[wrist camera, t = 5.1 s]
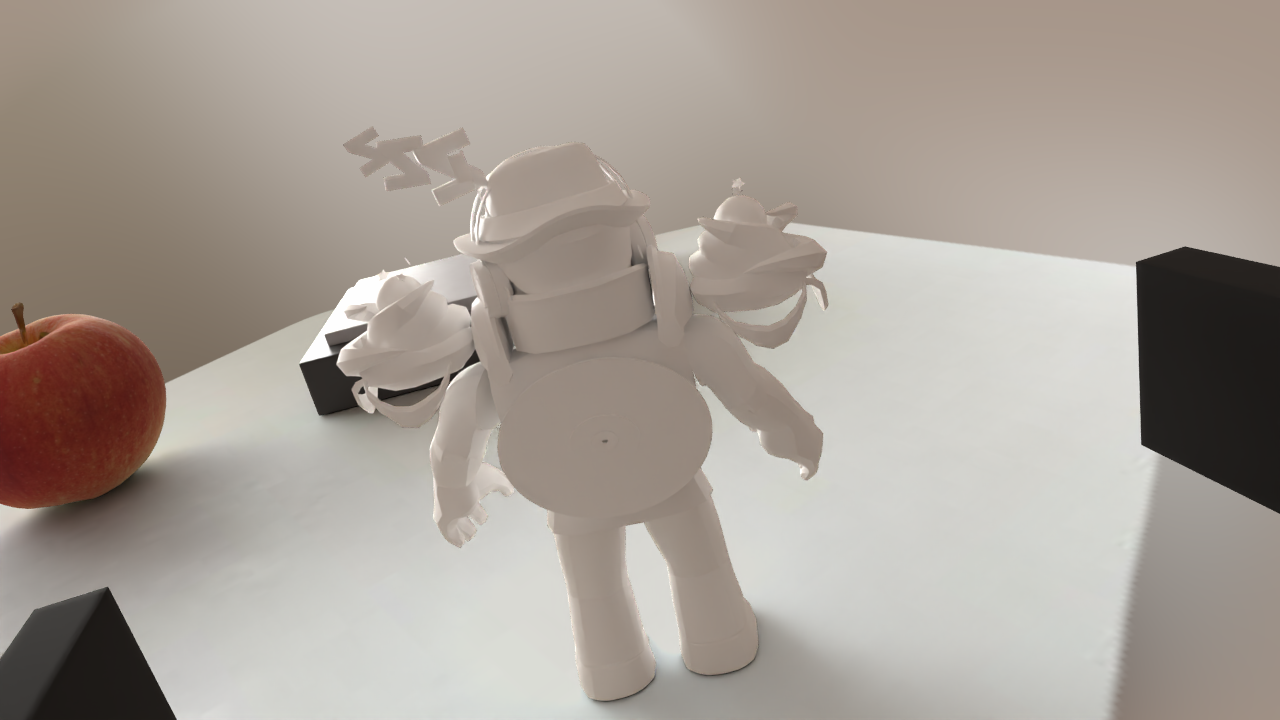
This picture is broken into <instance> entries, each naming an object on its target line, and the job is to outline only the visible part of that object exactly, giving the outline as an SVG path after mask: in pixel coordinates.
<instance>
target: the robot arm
mask: <svg viewBox="0 0 1280 720" xmlns="http://www.w3.org/2000/svg"><path fill="white" fill-rule="evenodd" d="M1136 275H1137V310H1138V345H1139V379H1140V414H1141V445H1143V446H1145V447H1147V448H1149V449H1151V450H1153V451H1155V452H1157V453H1159V454H1161V455H1163V456H1165V457H1167V458H1169V459H1171V460H1173V461H1175V462H1177V463H1179V464H1181V465H1183V466H1185V467H1187V468H1189V469H1191V470H1193V471H1195V472H1197V473H1199V474H1201V475H1204V476H1205V477H1207V478H1209V479H1211V480H1213V481H1215V482H1217V483H1219V484H1221V485H1223V486H1226V487H1227V488H1229V489H1231V490H1233V491H1235V492H1237V493H1239V494H1241V495H1243V496H1246V497H1247V498H1249V499H1251V500H1253V501H1255V502H1257V503H1259V504H1261V505H1263V506H1266V507H1267V508H1269V509H1271V510H1273V511H1276V512H1277V513H1279V514H1280V267H1277V266H1272V265H1268V264H1263V263H1258V262H1254V261H1249V260H1245V259H1240V258H1235V257H1231V256H1226V255H1222V254H1217V253H1213V252H1208V251H1203V250H1199V249H1194V248H1189V247H1182V248H1179V249H1176V250H1173V251H1170V252H1166V253H1163V254H1160V255H1157V256H1154V257H1151V258H1147V259H1144V260H1141V261H1138V262H1136ZM0 720H177V719H176V717H175V715H174V713H173V711H172V710H171V708H170V706H169V704H168V702H167V700H166V698H165V696H164V694H163V692H162V690H161V688H160V686H159V684H158V682H157V681H156V679H155V677H154V675H153V673H152V671H151V669H150V667H149V665H148V663H147V661H146V659H145V657H144V655H143V653H142V651H141V650H140V648H139V646H138V644H137V642H136V640H135V638H134V636H133V634H132V632H131V630H130V628H129V626H128V624H127V622H126V621H125V619H124V617H123V615H122V613H121V611H120V609H119V607H118V605H117V603H116V601H115V599H114V597H113V595H112V593H111V591H110V590H109V588H108V587H105V588H102V589H99V590H96V591H93V592H89V593H86V594H83V595H80V596H77V597H74V598H70V599H67V600H64V601H61V602H58V603H55V604H51V605H48V606H45V607H42V608H39V609H35V610H34V611H33V612H32V614H31V615H30V617H29V618H28V620H27V621H26V623H25V624H24V625H23V627H22V628H21V630H20V631H19V633H18V634H17V636H16V637H15V638H14V640H13V641H12V643H11V644H10V646H9V647H8V649H7V650H6V651H5V653H4V654H3V656H2V657H1V659H0Z"/></svg>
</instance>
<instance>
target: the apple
mask: <svg viewBox="0 0 1280 720" xmlns="http://www.w3.org/2000/svg"><path fill="white" fill-rule="evenodd" d="M23 309H24V308H23V304H22V303H16V304H15V305H14V306H13V307H12V309H11V310H12V312H13V314H14V316H15V319H16V322H17V325H18V328H19V329H17V330H14V331H12V332H9V333H7V334H5V335H2V336H0V504H3V505H7V506H11V507H16V508H25V509H33V508H41V507H50V506H58V505H62V504H67V503H71V502H76V501H81V500H88V499H93V498H96V497H99V496H101V495H103V494H105V493H107V492H109V491H110V490H112V489H113V488H115V487H117V486H118V485H120V484H121V483H122V482H124V481H125V480H126V479H127V478H129V477H130V476H131V475H132V474H133V473H134V472H136V471H137V469H138V468H139V467H140V466H141V465H142V464H143V463H144V462H145V461H146V460H147V458H148V457H149V456H150V454H151V452H152V451H153V449H154V447H155V445H156V443H157V441H158V438H159V436H160V433H161V430H162V427H163V423H164V418H165V409H166V388H165V383H164V379H163V376H162V372H161V370H160V368H159V365H158V363H157V361H156V359H155V357H154V356H153V354H152V353H151V352H150V350H149V349H148V348H147V346H146V345H145V344H144V343H143V342H142V341H141V340H140V339H139V338H138V337H137V336H136V335H134V334H133V333H132V332H130V331H129V330H127V329H125V328H124V327H122V326H120V325H118V324H116V323H113V322H110V321H107V320H103V319H101V318H97V317H93V316H88V315H82V314H62V315H56V316H51V317H47V318H43V319H40V320H37V321H35V322H33V323H31V324H29V325H27V326H25V324H24V319H23Z"/></svg>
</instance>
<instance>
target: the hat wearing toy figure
mask: <svg viewBox="0 0 1280 720" xmlns="http://www.w3.org/2000/svg"><path fill="white" fill-rule="evenodd" d="M378 136H379V135H378V134H377V133H376V131H375V130H374V128H373V127H370V128H369V129H367V130H366V131H364V132H363V133H361V134H359V135H358V136H356V137H355V138H353V139H351V140H350V141H348V142H347V143H345V144H343V146H344V147H345V148H346V150H347V151H348V152H349V153H352V154H355V155H359V156H363V157H366V158H370V159H373V160H371V161H370V162H368V163H367V164H365V165H364V166H362V167H360V170H361V171H362V173H363V174H364V176H365V177H367V176H369V175H370V174H372V173H373V172H375V171H376V170H378V169H380V168H381V167H383V166H385V165H386V164H388V163H389V162H390V163H391V164H393V165H394V166H395V167H397V168H398V169H399V170H401V171H402V172H403V173H405V174H400V175H394V176H388V177H383V178H384V182H385V187H386V191H391V190H397V189H403V188H409V187H415V186H421V185H427V184H431V182H430V178H429V174H428V172H427V171H426V170H424V169H423V168H422V167H421V166H419V165H418V164H417V163H415V162H414V161H413V160H411V159H410V158H409V157H407V156H406V155H405V154H404V153H403V152H410V151H412V152H413V154H414V156H415V158H416V160H417V161H418V163H419V164H421V165H423V166H425V167H427V168H430V169H432V170H434V171H437V172H439V173H441V174H444V175H446V176H449V177H451V178H453V179H454V180H452V181H450V182H447V183H445V184H443V185H441V186H439V187H437V188H434V189H432V190H431V191H432V193H433V195H434V197H435V199H436V201H437V203H438V205H439V206H442V205H444V204H446V203H448V202H450V201H452V200H454V199H456V198H459V197H461V196H463V195H465V194H467V193H469V192H472V191H474V190H477V192H478V194H477V196H476V198H475V201H474V205H473V209H472V213H471V224H470V231H471V233H468V234H465V235H462V236H459V237H458V238H456V239H454V241H453V243H454V246H455V248H456V249H457V250H458V251H460V252H461V253H463V254H465V255H467V256H470V257H473V258H476V259H477V261H476V262H473V263H471V264H470V272H471V277H472V281H473V284H474V288H475V291H476V294H477V298H476V299H475V300H474V302H473V303H472V307H471V316H470V314H469V312H468V310H467V308H466V307H464V306H460V305H456V304H450V305H447V300H446V298H445V297H444V296H443V295H441V294H439V293H436V292H434V291H432V290H431V289H432V287H433V284H434V280H431V281H427V282H426V283H424V284H423V285H421V284H420V283H419V282H418V281H417V280H415V279H414V278H413V277H411V276H407V275H404V274H402V273H401V274H400V275H396V276H392V277H390V278H388V279H387V276H388V274H389V273H390V272H385V271H384V270H383V271H382V272H381V273H380V274H378V275H377V276H378V277H379V281H381V280H383V279H385V280H384V281H383V283H382V284H381V285H380V286H379V287H378V290H377V293H376V297H375V298H376V303H364V304H358V305H348V306H347V307H346V309H345V310H344V313H345V315H346V317H347V319H351V320H356V321H362V322H367V323H368V326H367V331H366V332H364V333H363V334H362V335H360V336H359V337H357V338H356V339H354V340H353V341H351V342H350V343H349V344H347V345H346V346H345V347H343V348H342V349H341V351H340V354H339V357H338V361H337V364H336V365H337V366H338V367H339V368H340V369H341V371H342V372H343V373H344V374H345V375H346V376H359V377H362V379H361V380H359V381H357V382H355V384H354V386H353V388H352V392H353V395H354V397H355V399H356V401H357V403H358V405H359V406H360V407H361V408H362V409H364V410H365V411H367V412H368V413H374V411H375V408H376V409H377V410H378V411H379V412H380V413H382V414H383V415H385V416H387V417H388V418H390V419H391V420H393V421H394V422H396V423H397V424H398V425H400V426H401V427H403V428H419V427H421V426H422V425H424V424H425V423H426V422H428V421H429V420H430V419H432V417H433V416H434V414H435V413H436V411H437V410H438V408H439V407H440V405H441V407H440V412H439V420H438V427H437V429H436V432H435V435H434V437H433V440H432V442H431V446H430V465H431V469H432V473H433V477H434V481H433V488H434V512H433V519H434V521H435V523H436V524H437V526H438V528H439V530H440V532H441V533H442V535H443V536H444V538H445V539H446V540H447V541H448V542H449V543H451V544H453V545H455V546H457V547H459V548H461V547H462V546H463V545H464V543H465V540H466V541H467V542H468V541H470V540H471V539H472V538H474V536H475V534H476V531H477V530H476V528H475V526H474V524H473V523H472V522H471V521H470V519H469V518H468V516H469V517H470V518H471V519H473V520H474V521H475V522H477V523H478V524H479V525H482V524H483V523H485V522H486V520H487V518H488V515H487V513H486V511H485V510H484V509H483V507H482V506H481V504H480V503H479V501H480V500H482V499H483V498H484V497H485V496H486V495H488V494H489V493H490V492H496V491H500V492H501V493H502V494H503V495H504V496H506V497H507V496H510V495H512V494H513V492H514V488H515V489H516V490H517V491H518V492H519V493H521V494H522V495H523V496H524V497H525V498H527V499H528V500H530V501H531V502H533V503H535V504H537V505H538V506H540V507H543V508H545V509H547V526H548V527H549V529H550V530H551V531H552V532H553V533H554V538H555V543H556V548H557V553H558V557H559V561H560V564H561V568H562V572H563V576H564V580H565V584H566V588H567V593H568V601H569V609H570V617H571V624H572V631H573V637H574V643H575V660H576V665H577V671H578V676H579V681H580V685H581V687H582V689H583V690H584V692H585V693H586V695H587V696H588V698H591V699H595V700H601V701H608V700H615V699H619V698H623V697H627V696H629V695H632V694H635V693H636V692H638V691H640V690H642V689H643V688H644V687H645V686H647V685H648V684H649V683H650V682H651V680H652V679H653V678H654V677H655V668H656V661H655V658H654V655H653V652H652V650H651V649H650V647H649V639H648V636H647V634H646V632H645V631H644V629H643V625H642V621H641V617H640V614H639V610H638V607H637V603H636V600H635V596H634V593H633V590H632V586H631V583H630V580H629V576H628V570H627V564H626V526H627V525H632V524H637V523H642V522H644V524H645V526H646V528H647V530H648V532H649V534H650V535H651V537H652V539H653V541H654V543H655V544H656V546H657V548H658V549H659V551H660V553H661V554H662V556H663V558H664V559H665V561H666V564H667V567H668V574H669V581H670V587H671V594H672V599H673V605H674V610H675V615H676V620H677V624H678V628H679V646H680V650H681V655H682V658H683V660H684V663H685V665H686V668H688V669H690V670H691V671H693V672H696V673H699V674H705V675H715V674H723V673H727V672H732V671H735V670H738V669H741V668H742V667H744V666H746V665H747V664H749V663H750V662H751V661H752V660H753V659H754V658H755V655H756V652H757V649H758V645H759V644H758V632H757V621H756V617H755V615H754V613H753V610H752V608H751V606H750V604H749V602H748V601H747V600H746V599H745V598H744V597H743V594H742V591H741V588H740V586H739V583H738V581H737V578H736V576H735V573H734V570H733V567H732V564H731V561H730V558H729V555H728V551H727V547H726V543H725V539H724V535H723V532H722V528H721V524H720V520H719V517H718V514H717V511H716V508H715V505H714V502H713V499H712V497H711V493H712V492H713V489H712V487H711V485H710V483H709V481H708V480H707V478H706V476H705V474H704V472H703V471H702V469H701V466H702V464H703V462H704V460H705V459H706V457H707V454H708V451H709V449H710V445H711V440H712V433H713V432H712V419H711V415H710V411H709V409H708V406H707V404H706V402H705V400H704V398H703V397H702V395H701V394H700V393H699V391H698V390H697V389H696V384H695V379H694V375H693V372H694V374H695V376H696V378H697V380H698V382H699V383H700V384H701V385H702V386H705V385H707V386H708V387H709V388H710V389H711V390H712V392H713V393H714V394H715V395H716V396H717V398H718V399H719V400H720V401H721V403H722V404H723V405H724V406H725V408H726V409H727V410H728V411H729V412H730V413H731V414H732V415H733V416H734V417H736V418H737V419H738V420H739V421H740V422H741V423H743V424H745V425H747V426H748V427H749V429H750V430H751V431H752V432H758V434H759V439H760V445H761V446H762V447H763V448H764V449H765V451H766V452H767V453H768V454H770V455H773V456H775V457H779V458H785V459H790V460H792V461H794V462H796V463H798V465H799V467H800V468H801V472H800V473H801V477H802V478H803V480H808V479H810V478H811V477H813V476H814V475H815V474H816V473H817V470H818V463H819V460H820V457H821V453H822V445H823V433H822V431H821V430H820V429H819V428H818V427H817V426H816V425H815V424H814V419H813V416H812V415H810V414H809V413H808V412H806V411H805V410H804V409H803V408H802V407H801V405H800V404H799V403H798V402H797V401H796V400H794V398H793V397H792V396H791V395H790V393H789V392H788V391H787V389H786V388H785V387H784V386H783V384H782V383H781V382H780V381H778V380H777V379H776V378H775V377H774V376H773V375H772V374H771V373H770V372H769V371H767V370H766V369H765V368H764V367H762V366H760V365H758V364H756V363H754V361H753V360H752V358H751V357H750V355H749V353H748V352H747V350H746V348H745V347H744V345H743V344H742V342H741V341H740V339H739V337H738V336H737V335H739V336H740V337H742V338H744V339H746V340H747V341H749V342H751V343H753V344H754V345H756V346H761V347H766V348H771V349H774V348H776V347H778V346H780V345H782V344H784V343H786V342H788V341H789V339H790V337H791V335H792V333H793V332H794V330H795V328H796V326H797V324H798V322H799V321H800V319H801V316H802V313H803V310H804V307H805V304H806V301H807V296H806V285H811V286H812V288H813V291H814V293H815V295H816V298H817V300H818V303H819V305H820V306H821V308H822V309H823V310H824V311H825V310H826V308H827V306H828V299H827V293H826V290H825V287H824V285H823V283H822V282H821V281H819V280H817V279H816V278H815V277H814V275H813V273H814V272H815V271H817V270H819V269H820V268H822V267H823V264H824V261H825V258H826V254H827V252H826V251H825V250H824V249H823V248H822V247H821V246H820V245H819V244H818V243H817V242H816V241H815V240H813V239H811V238H809V237H806V236H800V235H794V234H787V233H783V232H782V231H783V229H784V228H785V227H786V225H787V224H789V223H790V222H791V221H792V220H793V219H794V218H795V217H796V216H797V206H796V205H794V204H792V203H790V202H787V203H785V204H783V205H781V206H779V207H777V208H774V209H772V210H769V211H767V212H765V211H764V208H763V206H762V205H761V204H759V202H758V201H757V200H756V199H753V198H750V197H748V196H744V195H739V193H740V192H741V191H742V190H740V187H741V185H743V184H745V183H744V182H742V181H741V178H739V179H737V180H732V181H733V183H734V184H733V185H732V187H736V188H732V189H733V191H734V192H733V194H737V195H738V196H733V197H730V198H727V199H726V200H725V201H724V202H723V203H722V204H721V206H720V207H718V209H717V211H716V214H715V216H714V219H709V218H705V217H701V218H698V221H699V223H700V225H701V226H702V227H703V228H704V229H705V230H704V231H703V232H702V233H701V235H700V237H699V238H698V240H697V242H698V245H699V248H700V249H699V250H698V251H696V252H695V253H694V254H692V255H691V256H689V270H690V272H691V273H692V274H693V279H692V282H691V284H690V287H689V284H688V281H687V278H686V275H685V272H684V270H683V269H682V267H681V265H680V263H679V262H678V260H677V258H676V256H675V255H674V253H669V252H664V251H658V248H657V243H656V239H655V236H654V233H653V230H652V228H651V225H650V224H649V222H648V220H647V219H646V217H645V216H644V215H643V214H644V213H645V212H646V211H647V210H648V209H649V207H650V199H649V197H648V196H647V195H645V194H644V193H643V192H640V191H637V190H630V189H629V188H628V186H627V184H626V183H625V181H624V179H623V178H622V176H621V175H620V174H619V173H618V172H617V171H616V170H615V169H614V168H613V167H612V166H611V165H610V164H608V163H607V162H606V161H604V160H603V159H601V158H600V157H598V156H596V155H594V154H593V153H592V151H591V150H590V148H589V147H588V146H586V145H585V144H584V143H576V142H569V143H565V144H561V145H558V146H540V147H534V148H530V149H527V150H524V151H522V152H519V153H516V154H514V155H513V156H511V157H510V158H508V159H506V160H504V161H503V162H502V163H501V164H500V165H498V166H497V167H496V168H495V169H494V170H493V171H492V172H491V173H490V174H489V175H487V177H485V175H484V173H483V172H482V171H481V170H480V169H478V168H476V167H473V166H471V165H469V164H467V161H466V159H465V157H464V154H463V151H462V150H461V151H460V153H459V154H456V155H452V156H448V155H447V154H449V153H451V152H453V151H456V150H458V149H460V148H462V147H465V146H467V145H469V144H470V142H469V141H468V138H467V136H466V134H465V131H464V129H463V128H460V129H458V130H456V131H453V132H451V133H449V134H447V135H444V136H442V137H440V138H438V139H436V140H433V141H431V142H429V143H426V144H424V145H423V143H422V138H421V135H419V136H412V137H406V138H399V139H392V140H386V141H379V142H376V145H377V148H374V147H371V146H368V145H365V144H366V143H368V142H369V141H371V140H373V139H374V138H376V137H378ZM535 149H537V150H535ZM530 150H534V151H531V152H528V153H526V154H524V155H522V156H518V157H515V156H517V155H519V154H521V153H524V152H526V151H530ZM513 157H514V158H513ZM596 158H597V159H599V160H600V161H602V162H603V163H604V164H606V165H607V166H608V167H609V168H610V169H611V170H612V171H613V172H614V173H615V174H616V175H617V176H618V178H619V179H620V181H621V182H622V184H623V185H624V187H625V190H622V189H621V187H620V185H619V184H618V182H617V181H616V180H615V178H614V177H613V176H612V174H611V173H610V172H609V171H608V170H607V169H606V168H605V167H604V166H603V165H602V164H600V163H599V162H597V160H596ZM602 170H603V171H604V172H605V173H606V174H607V175H608V176H609V177H610V179H611V180H607V179H606V177H605V175H604V173H603V171H602ZM478 188H480V189H478ZM483 188H485V189H486V192H485V194H484V196H483V198H482V196H481V194H480V193H481V191H482V189H483ZM479 197H480V199H481V202H480V206H479V209H478V213H477V217H476V224H475V229H474V232H473V222H474V213H475V209H476V205H477V201H478V198H479ZM485 201H486V205H485ZM483 206H484V208H485V211H486V212H485V215H484V216H481V213H482V209H483ZM405 260H406V261H407V263H409V261H408V260H407V259H406V258H405ZM409 264H410V263H409ZM648 269H649V270H650V275H651V281H652V287H653V295H652V289H651V283H650V278H649V272H648ZM806 277H808V278H806ZM801 288H802V294H801V296H800V298H799V300H798V302H797V304H796V307H795V308H794V309H793V310H792V311H791V312H790V313H789V314H788V315H787V316H786V317H785V318H784V319H783V320H780V321H778V322H776V323H774V324H771V325H769V326H763V325H751V324H746V323H742V322H737V321H734V320H733V319H731V318H730V317H729V316H727V315H726V314H725V313H724V312H735V311H749V310H758V309H762V308H766V307H770V306H774V305H778V304H780V303H781V302H783V301H785V300H786V299H788V298H790V297H792V296H793V295H795V294H796V293H797V292H798V291H799V290H800V289H801ZM691 292H692V294H693V296H694V298H695V300H696V301H697V302H698V303H699V304H700V305H702V306H704V307H706V308H707V309H709V310H711V311H713V312H715V313H718V315H719V317H720V319H721V320H722V321H721V320H719V319H718V318H716V317H714V316H712V315H702V314H693V311H694V307H693V300H692V295H691ZM655 308H656V314H654V313H655ZM723 321H724V322H725V323H726V324H725V323H724V322H723ZM470 323H471V327H470ZM514 345H515V346H514ZM475 349H476V352H477V354H478V357H479V359H480V362H478V363H476V364H473V365H471V366H469V367H467V368H466V369H464V370H463V371H461V372H460V373H459V374H458V375H457V376H456V377H455V378H454V379H453V380H452V382H451V383H450V385H449V386H448V383H449V380H450V374H452V373H454V372H457V371H458V370H460V369H462V368H463V367H464V365H465V363H466V362H467V360H468V359H469V358H470V357H471V356H472V354H473V352H474V350H475ZM441 377H444V378H443V380H442V382H441V384H440V386H439V388H438V389H437V390H435V391H434V392H433V393H431V394H430V395H429V396H428V397H426V398H425V399H423V400H422V401H420V402H418V403H416V404H414V405H413V406H393V405H390V404H388V403H385V402H383V401H380V400H379V399H378V388H383V389H388V390H394V391H398V390H403V389H409V388H414V387H417V386H420V385H423V384H426V383H428V382H431V381H434V380H436V379H439V378H441ZM363 386H364V389H365V392H366V393H365V394H358V393H359V391H360V389H361V387H363ZM368 386H369V387H368ZM447 387H448V388H447ZM500 423H501V427H500V430H499V435H498V447H497V448H498V456H499V460H500V464H501V467H502V469H503V472H504V473H505V474H504V473H503V472H502V471H501V470H500V469H498V468H496V467H494V466H492V465H490V464H488V463H486V462H482V461H483V459H484V456H485V453H486V450H487V441H488V439H489V438H490V435H491V432H492V430H493V429H495V428H496V427H497V426H498V425H499V424H500ZM512 485H513V486H514V488H513V486H512Z"/></svg>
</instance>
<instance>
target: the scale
mask: <svg viewBox="0 0 1280 720" xmlns="http://www.w3.org/2000/svg"><path fill="white" fill-rule="evenodd" d="M476 261H477V259H476V258H473V257H470V256H467V255H465V254H460V255H457V256H453V257H449V258H445V259H441V260H437V261H433V262H429V263H425V264H421V265H417V266H413V267H410V268H406V269H401V270H397V271H393V272H390V273H389V274H388V276H387V279H388V278H390V277H392V276H396V275H400V274H401V273H402V274H404V275H407V276H411V277H413V278H414V279H415V280H417V281H418V282H419V283H420V284H421V285H423V284H424V283H426V282H427V281H431V280H434V284H433V287H432V289H431V290H432V291H434V292H436V293H439V294H441V295H443V296H444V297H445V298H446V300H447V305H450V304H456V305H460V306H464V307H466V308H467V310H468V312H469V314H470V316H471V307H472V303H473V302H474V300H475V299H476V298H477V294H476V291H475V288H474V284H473V281H472V277H471V272H470V264H471V263H473V262H476ZM384 280H385V279H383V280H381V281H379V277H378V276H374V277H370V278H366V279H362V280H359V281H358V283H357V284H356V286H355V287H353V288H349V289H348V291H347V292H346V294H345V296H344V297H343V299H342V300H341V302H340V303H339V305H338V306H337V308H336V309H335V311H334V312H333V314H332V315H331V317H330V318H329V320H328V321H327V323H326V324H325V326H324V327H323V329H322V330H321V332H320V333H319V335H318V336H317V338H316V339H315V341H314V342H313V344H312V345H311V347H310V348H309V350H308V351H307V353H306V354H305V356H304V357H303V359H302V360H301V362H300V363H299V365H300V368H301V370H302V373H303V375H304V378H305V381H306V383H307V386H308V388H309V391H310V394H311V396H312V399H313V401H314V404H315V407H316V409H317V412H318V414H319V415H324V414H328V413H331V412H335V411H339V410H343V409H347V408H350V407H354V406H358V403H357V401H356V399H355V397H354V395H353V392H352V388H353V386H354V384H355V382H357V381H359V380H361V379H362V377H359V376H346V375H345V374H344V373H343V372H342V371H341V369H340V368H339V367H338V366H337V365H336V364H337V361H338V357H339V354H340V351H341V349H342V348H343V347H345V346H346V345H347V344H349V343H350V342H351V341H353V340H354V339H356V338H357V337H359V336H360V335H362V334H363V333H364V332H366V331H367V326H368V323H367V322H362V321H356V320H351V319H347V317H346V315H345V313H344V310H345V309H346V307H347V306H348V305H358V304H364V303H376V298H375V297H376V293H377V290H378V287H379V286H380V285H381V284H382V283H383V281H384ZM470 327H471V323H470ZM514 346H515V345H514ZM478 362H480V359H479V357H478V354H477V352H476V349H475V350H474V352H473V354H472V356H471V357H470V358H469V359H468V360H467V362H466V363H465V365H464V367H463V368H462V369H460V370H458V371H457V372H454V373H452V374H450V380H449V382H450V381H452V380H453V379H454V378H455V377H456V376H457V375H458V374H459V373H460V372H461V371H463V370H464V369H466V368H467V367H469V366H471V365H473V364H476V363H478ZM443 378H444V377H441V378H439V379H436V380H434V381H431V382H428V383H426V384H423V385H420V386H417V387H414V388H409V389H403V390H398V391H394V390H388V389H383V388H378V399H379V400H381V399H385V398H389V397H392V396H396V395H400V394H404V393H408V392H412V391H415V390H419V389H423V388H427V387H431V386H434V385H438V384H441V382H442V380H443ZM368 387H369V386H368ZM365 393H366V392H365V389H364V386H363V387H361V389H360V391H359V393H358V394H365Z"/></svg>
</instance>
